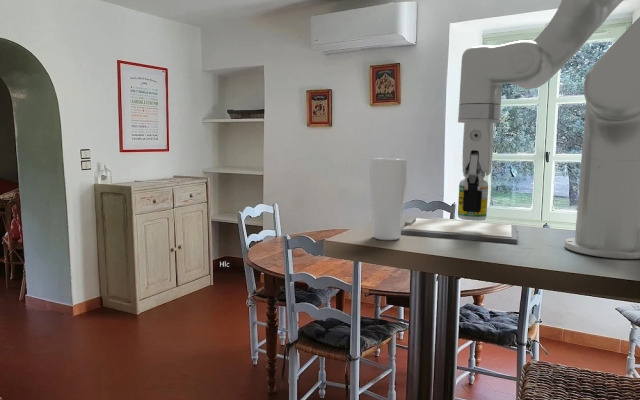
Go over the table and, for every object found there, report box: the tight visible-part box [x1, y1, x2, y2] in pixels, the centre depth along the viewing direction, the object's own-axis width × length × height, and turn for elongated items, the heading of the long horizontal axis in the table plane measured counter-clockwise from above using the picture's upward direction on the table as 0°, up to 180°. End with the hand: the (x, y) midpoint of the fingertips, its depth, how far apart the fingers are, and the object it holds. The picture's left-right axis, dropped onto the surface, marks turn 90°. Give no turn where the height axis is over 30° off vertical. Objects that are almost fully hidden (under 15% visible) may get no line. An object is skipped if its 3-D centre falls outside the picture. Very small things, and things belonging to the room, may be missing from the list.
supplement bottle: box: [457, 169, 489, 222], centre depth 93 cm, size 5×5×10 cm
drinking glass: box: [369, 157, 408, 241], centre depth 90 cm, size 7×7×15 cm
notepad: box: [401, 217, 518, 245], centre depth 98 cm, size 22×16×2 cm
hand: (472, 208), depth 93 cm, fingers closed on supplement bottle, 5 cm apart
